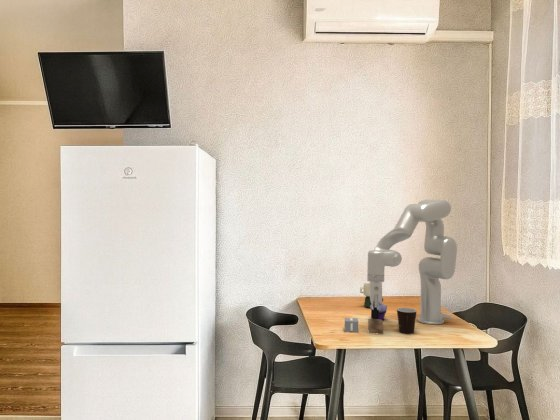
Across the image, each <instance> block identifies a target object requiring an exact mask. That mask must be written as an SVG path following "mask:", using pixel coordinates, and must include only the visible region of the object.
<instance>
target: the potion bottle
mask: <svg viewBox="0 0 560 420" xmlns="http://www.w3.org/2000/svg"><path fill="white" fill-rule="evenodd" d="M382 302H384V298H383V297H382ZM370 307H371V308H370V310H371V309H372V304H371V305H370ZM387 308H388V305H386V304H384V303H382V304H380V303H379V306H378V309H379V318H378V319H382V322H383V321H385V317H386V313H387V310H388V309H387Z"/></svg>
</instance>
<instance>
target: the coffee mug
mask: <svg viewBox="0 0 560 420" xmlns="http://www.w3.org/2000/svg"><path fill="white" fill-rule="evenodd" d="M396 314H397V322H398V332H399V333H400V334H404V335H412V334H414V333H415V329H416V328H415V326H416V321H417V309H415V308H410V307H398V308H397V309H396Z"/></svg>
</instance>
